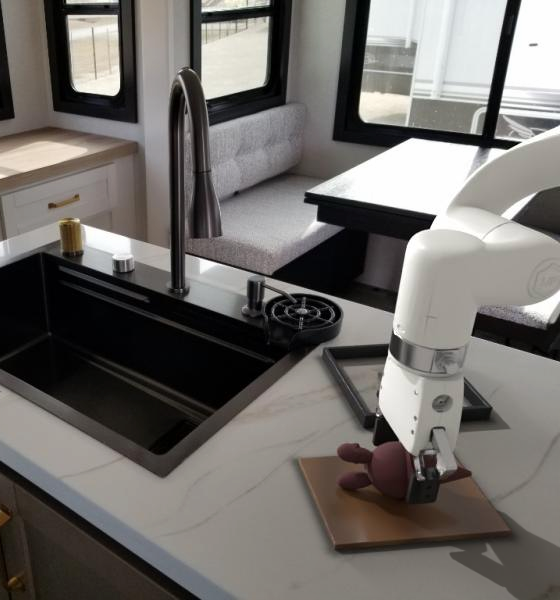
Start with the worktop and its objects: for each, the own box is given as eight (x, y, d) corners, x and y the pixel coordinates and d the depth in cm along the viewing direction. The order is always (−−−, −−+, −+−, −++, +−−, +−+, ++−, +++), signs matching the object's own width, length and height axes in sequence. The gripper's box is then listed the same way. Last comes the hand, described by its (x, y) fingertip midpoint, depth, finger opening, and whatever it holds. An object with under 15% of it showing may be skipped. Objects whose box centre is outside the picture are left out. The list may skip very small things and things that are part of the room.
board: (447, 452, 83) (448, 447, 83) (509, 535, 71) (510, 530, 71) (298, 463, 82) (298, 458, 82) (334, 549, 70) (335, 544, 69)
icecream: (465, 431, 76) (335, 426, 79) (482, 459, 69) (338, 452, 72) (462, 485, 77) (334, 478, 81) (478, 517, 70) (338, 508, 74)
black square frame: (429, 352, 106) (431, 340, 105) (489, 420, 89) (492, 407, 88) (321, 358, 104) (323, 347, 103) (363, 428, 88) (365, 415, 87)
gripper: (509, 391, 60) (470, 525, 67) (424, 306, 75) (401, 423, 83) (431, 397, 59) (402, 531, 67) (362, 310, 74) (344, 427, 82)
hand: (401, 471), depth 75 cm, fingers open, 9 cm apart
